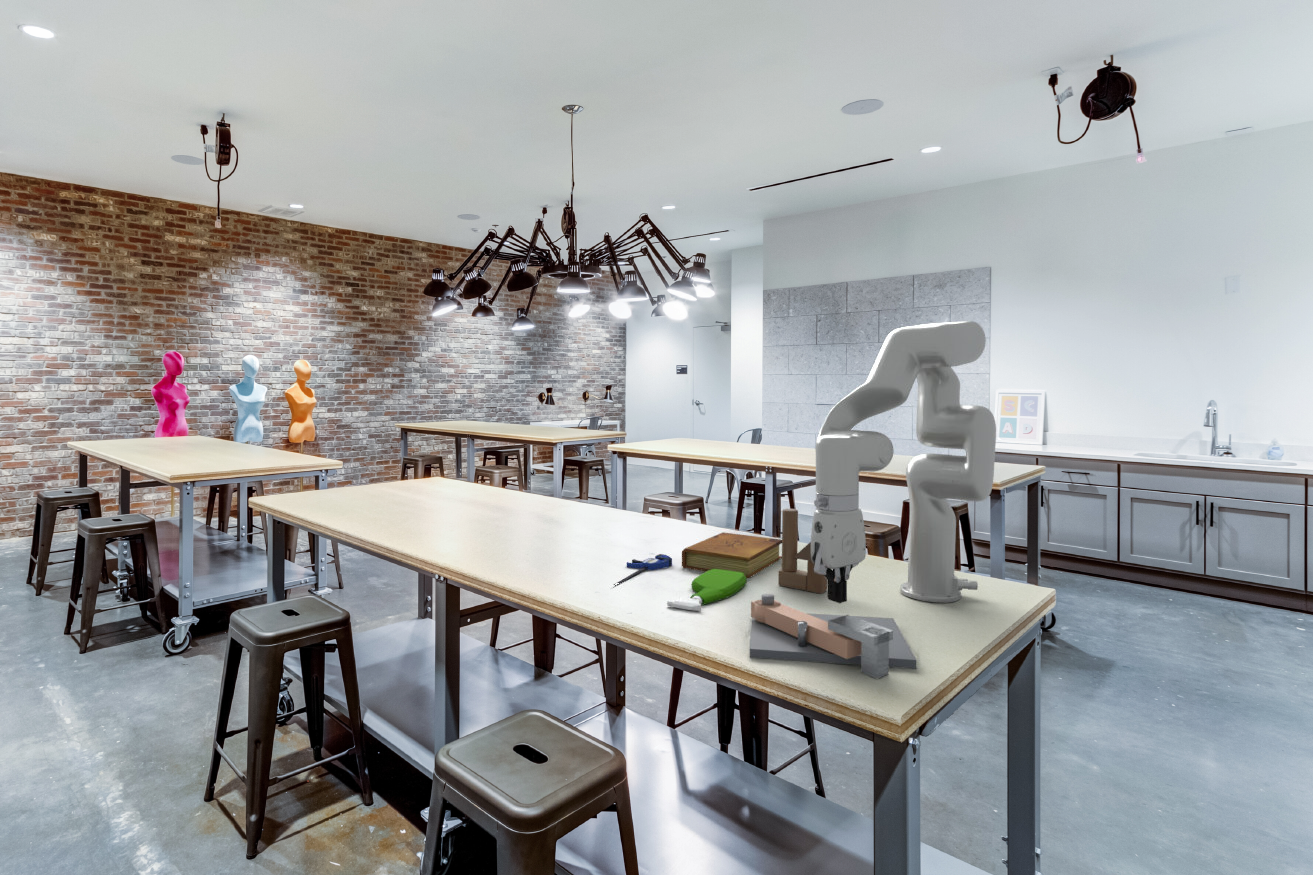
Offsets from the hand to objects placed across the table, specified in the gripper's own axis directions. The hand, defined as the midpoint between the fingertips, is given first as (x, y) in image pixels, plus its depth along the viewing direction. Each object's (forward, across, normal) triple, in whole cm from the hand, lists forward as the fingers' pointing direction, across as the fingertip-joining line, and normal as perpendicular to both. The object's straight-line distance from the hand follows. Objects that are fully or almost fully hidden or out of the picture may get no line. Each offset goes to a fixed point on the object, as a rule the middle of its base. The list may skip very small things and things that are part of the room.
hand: (837, 600), depth 119 cm
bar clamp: (+8, -12, +55) cm, 57 cm away
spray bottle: (+8, -5, +33) cm, 34 cm away
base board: (+7, -3, 0) cm, 7 cm away
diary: (+8, +17, +51) cm, 55 cm away
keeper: (+7, -8, -9) cm, 14 cm away
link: (+5, -8, +1) cm, 9 cm away
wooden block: (+8, +16, +25) cm, 31 cm away
